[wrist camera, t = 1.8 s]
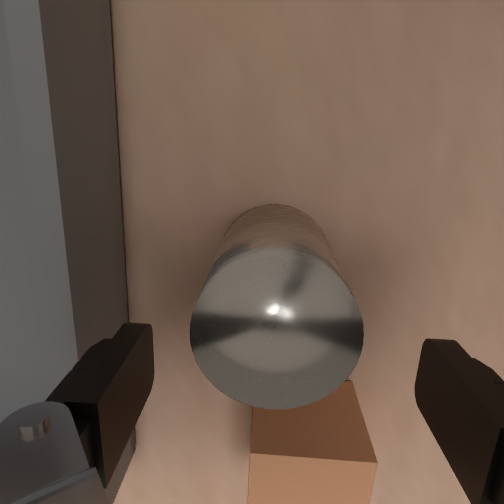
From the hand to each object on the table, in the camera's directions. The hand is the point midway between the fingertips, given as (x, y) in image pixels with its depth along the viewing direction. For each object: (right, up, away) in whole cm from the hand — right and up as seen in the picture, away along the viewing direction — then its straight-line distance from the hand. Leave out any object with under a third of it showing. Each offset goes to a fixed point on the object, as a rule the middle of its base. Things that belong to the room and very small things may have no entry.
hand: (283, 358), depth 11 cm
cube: (+2, -6, +9) cm, 11 cm away
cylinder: (0, +3, +6) cm, 7 cm away
